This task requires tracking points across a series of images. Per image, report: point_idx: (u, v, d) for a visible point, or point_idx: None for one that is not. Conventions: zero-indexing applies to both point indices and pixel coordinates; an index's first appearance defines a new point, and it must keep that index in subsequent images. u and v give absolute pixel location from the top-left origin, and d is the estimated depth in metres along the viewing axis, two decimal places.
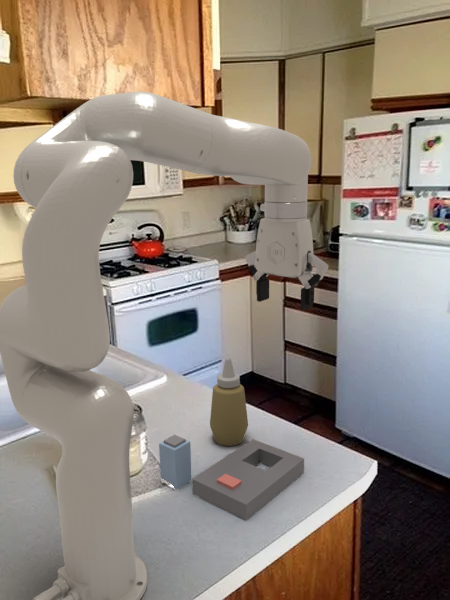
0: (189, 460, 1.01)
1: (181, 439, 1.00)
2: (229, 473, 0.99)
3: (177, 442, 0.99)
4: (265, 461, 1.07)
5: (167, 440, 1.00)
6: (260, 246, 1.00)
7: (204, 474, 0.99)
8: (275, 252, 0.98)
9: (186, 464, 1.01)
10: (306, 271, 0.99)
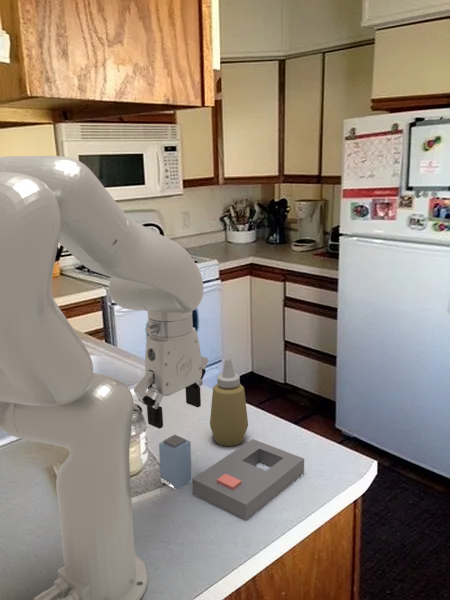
0: (189, 460, 1.01)
1: (181, 439, 1.00)
2: (229, 473, 0.99)
3: (177, 442, 0.99)
4: (265, 461, 1.07)
5: (167, 440, 1.00)
6: (168, 369, 0.92)
7: (204, 474, 0.99)
8: (183, 366, 0.95)
9: (186, 464, 1.01)
10: None
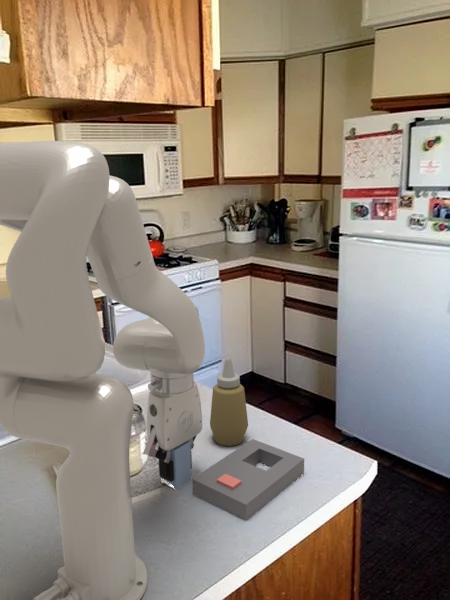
0: (189, 460, 1.01)
1: None
2: (229, 473, 0.99)
3: None
4: (265, 461, 1.07)
5: None
6: (169, 424, 0.94)
7: (204, 474, 0.99)
8: (184, 421, 0.97)
9: (186, 464, 1.01)
10: None
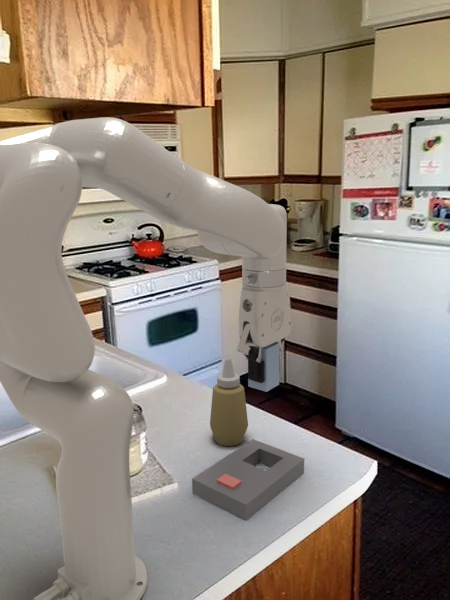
0: (278, 362, 0.99)
1: None
2: (229, 473, 0.99)
3: None
4: (265, 461, 1.07)
5: None
6: (264, 320, 0.92)
7: (204, 474, 0.99)
8: (276, 319, 0.95)
9: (275, 366, 0.98)
10: None
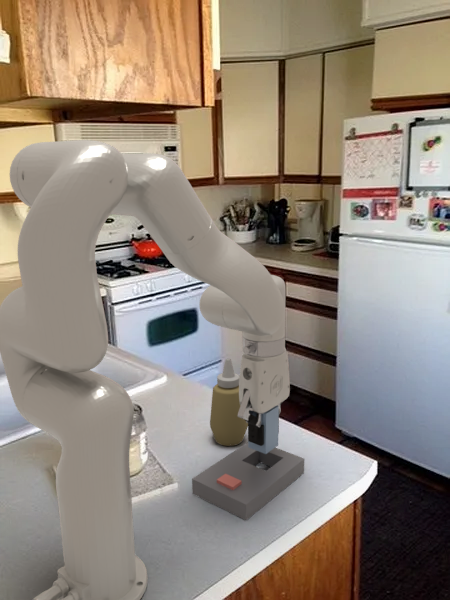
0: (277, 425, 1.02)
1: None
2: (229, 473, 0.99)
3: None
4: (265, 461, 1.07)
5: None
6: (264, 388, 0.95)
7: (204, 474, 0.99)
8: (276, 385, 0.98)
9: (274, 428, 1.02)
10: None
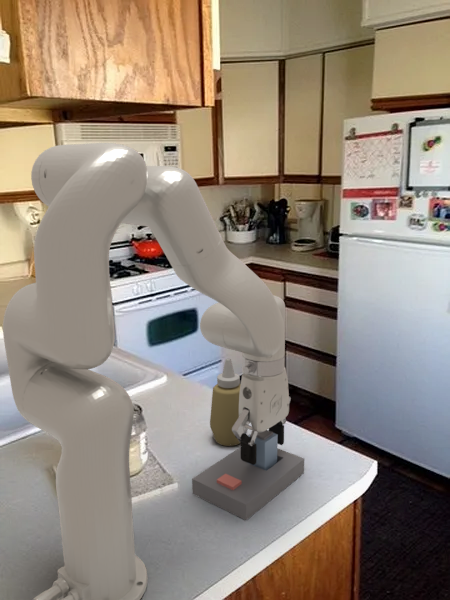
0: (276, 453, 1.03)
1: (269, 432, 1.02)
2: (229, 473, 0.99)
3: (266, 435, 1.01)
4: None
5: None
6: (263, 407, 0.96)
7: (204, 474, 0.99)
8: (275, 404, 0.99)
9: (273, 456, 1.03)
10: None
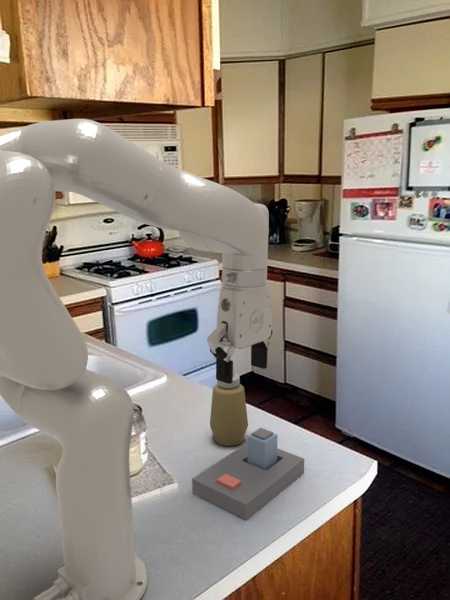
0: (276, 453, 1.03)
1: (269, 432, 1.02)
2: (229, 473, 0.99)
3: (266, 435, 1.01)
4: None
5: (255, 433, 1.02)
6: (242, 320, 0.90)
7: (204, 474, 0.99)
8: (256, 320, 0.92)
9: (273, 456, 1.03)
10: None
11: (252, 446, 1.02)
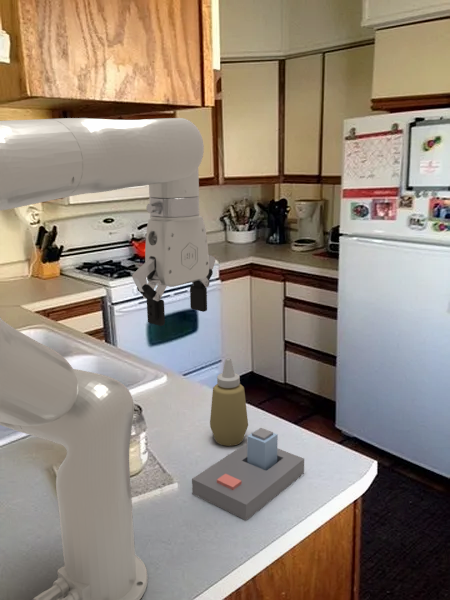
0: (276, 453, 1.03)
1: (269, 432, 1.02)
2: (229, 473, 0.99)
3: (266, 435, 1.01)
4: None
5: (255, 433, 1.02)
6: (172, 254, 0.81)
7: (204, 474, 0.99)
8: (188, 256, 0.84)
9: (273, 456, 1.03)
10: None
11: (252, 446, 1.02)
